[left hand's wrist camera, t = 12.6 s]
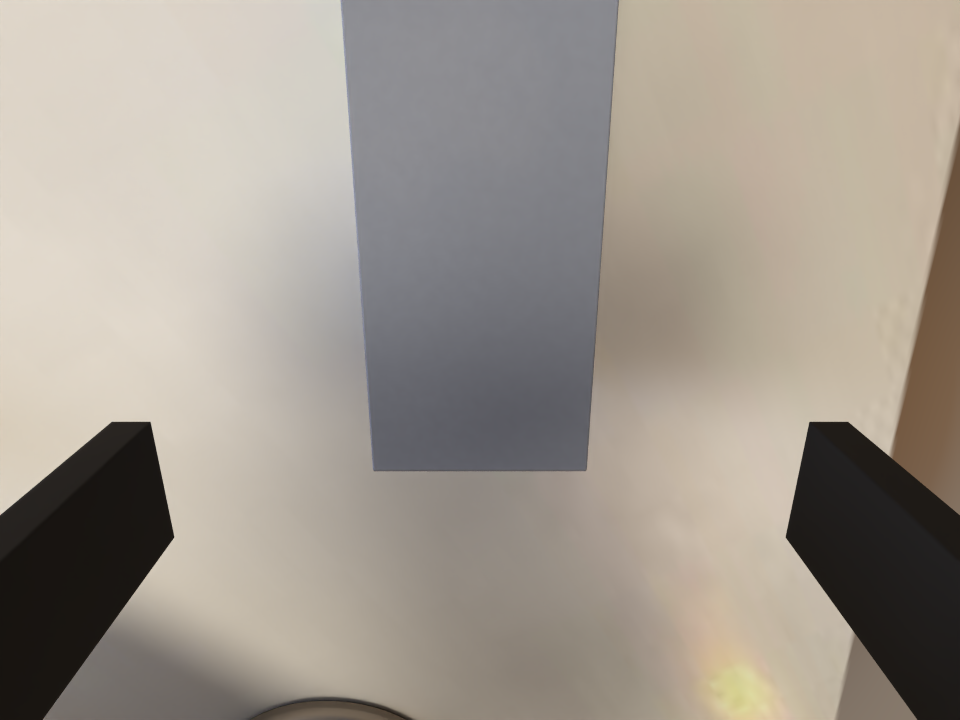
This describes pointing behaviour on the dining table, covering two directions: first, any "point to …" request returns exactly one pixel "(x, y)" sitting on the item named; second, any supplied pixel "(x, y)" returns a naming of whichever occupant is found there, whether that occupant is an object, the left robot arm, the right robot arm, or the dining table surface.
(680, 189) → the dining table surface
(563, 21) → the cabinet
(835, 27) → the dining table surface
